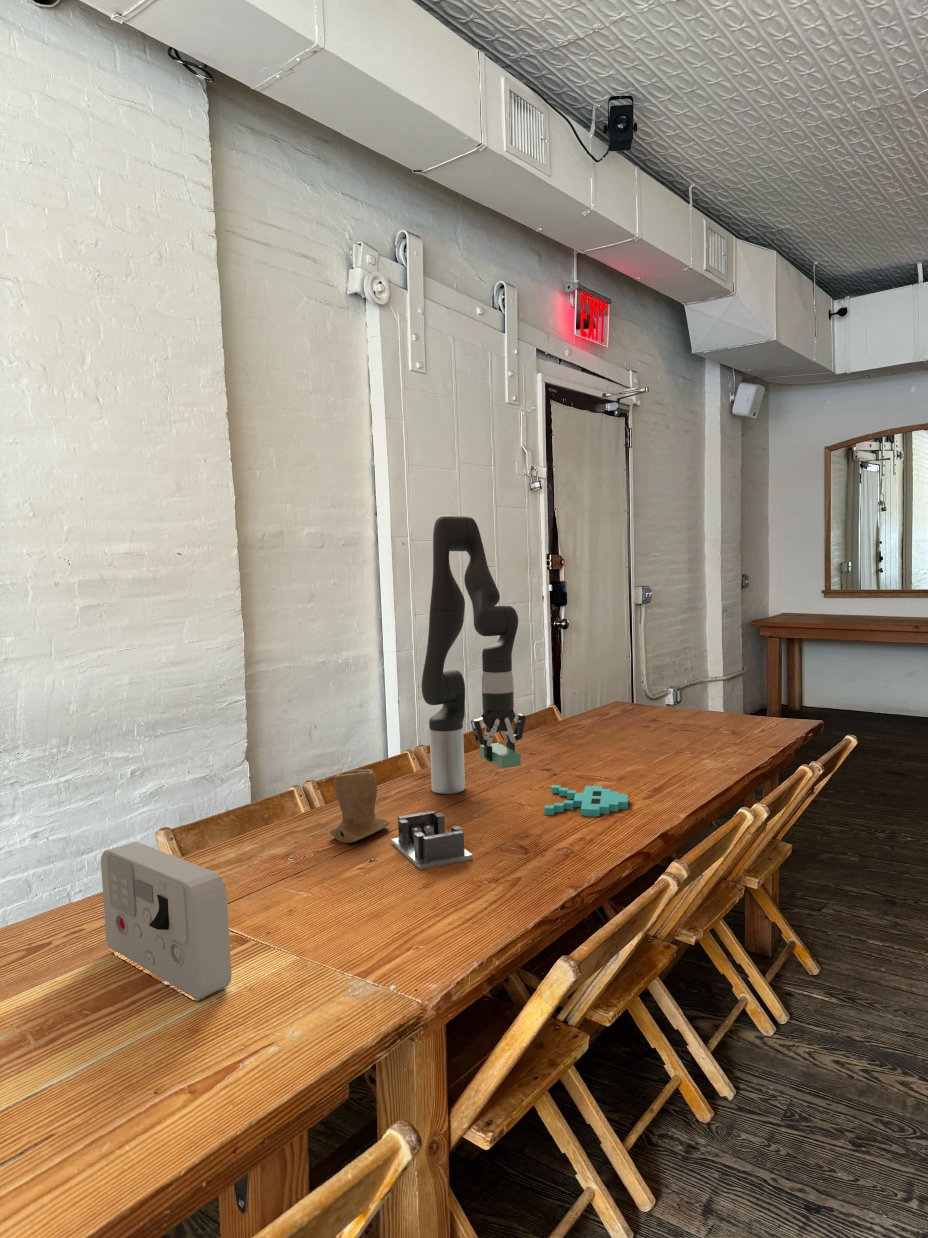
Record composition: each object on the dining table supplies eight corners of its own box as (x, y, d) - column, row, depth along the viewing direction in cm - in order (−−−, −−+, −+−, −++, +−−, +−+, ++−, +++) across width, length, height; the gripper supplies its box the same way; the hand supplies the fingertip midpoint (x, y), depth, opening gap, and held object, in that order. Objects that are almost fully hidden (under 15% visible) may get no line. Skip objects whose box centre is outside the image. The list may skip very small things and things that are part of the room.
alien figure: (544, 816, 205) (627, 819, 201) (544, 808, 205) (627, 810, 201) (552, 793, 225) (628, 795, 221) (552, 785, 224) (627, 787, 220)
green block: (479, 757, 205) (479, 745, 205) (498, 754, 207) (497, 742, 207) (501, 768, 194) (501, 755, 194) (520, 765, 196) (520, 753, 196)
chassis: (391, 843, 188) (390, 817, 188) (440, 834, 193) (439, 809, 193) (419, 869, 172) (418, 841, 171) (472, 859, 177) (471, 831, 176)
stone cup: (357, 821, 205) (354, 761, 204) (396, 828, 199) (394, 766, 198) (316, 840, 192) (313, 776, 191) (356, 848, 186) (353, 782, 185)
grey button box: (93, 957, 138) (85, 851, 137) (136, 940, 144) (129, 838, 143) (187, 1014, 120) (180, 892, 119) (233, 991, 126) (226, 875, 124)
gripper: (517, 684, 205) (518, 752, 207) (463, 690, 200) (466, 759, 201) (531, 688, 199) (533, 759, 200) (477, 694, 193) (479, 766, 194)
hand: (499, 759), depth 201 cm, fingers closed on green block, 5 cm apart
